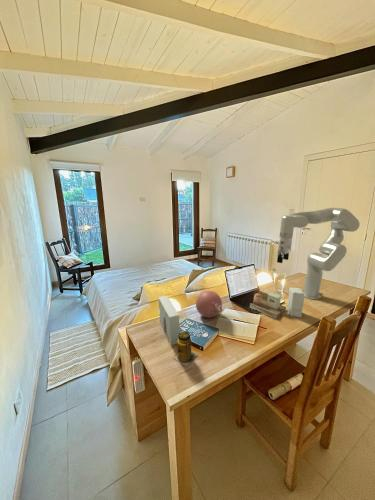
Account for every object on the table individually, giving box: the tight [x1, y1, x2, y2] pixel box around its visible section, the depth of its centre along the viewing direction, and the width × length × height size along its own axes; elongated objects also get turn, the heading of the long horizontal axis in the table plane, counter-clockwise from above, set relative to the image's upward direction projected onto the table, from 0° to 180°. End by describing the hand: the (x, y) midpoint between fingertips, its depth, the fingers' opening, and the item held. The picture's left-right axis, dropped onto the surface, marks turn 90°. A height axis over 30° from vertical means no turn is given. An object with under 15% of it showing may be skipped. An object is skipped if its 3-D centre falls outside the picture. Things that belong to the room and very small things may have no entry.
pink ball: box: [195, 290, 223, 319], centre depth 123 cm, size 15×20×15 cm
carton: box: [266, 292, 282, 310], centre depth 132 cm, size 6×5×8 cm
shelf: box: [249, 297, 287, 320], centre depth 134 cm, size 15×17×3 cm
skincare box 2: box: [286, 287, 305, 318], centre depth 127 cm, size 8×7×16 cm
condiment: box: [173, 331, 198, 367], centre depth 93 cm, size 7×8×12 cm
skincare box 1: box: [158, 294, 181, 346], centre depth 110 cm, size 21×6×16 cm, turn 22°
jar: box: [252, 292, 263, 306], centre depth 135 cm, size 5×5×7 cm
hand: (282, 261), depth 138 cm, fingers open, 9 cm apart
